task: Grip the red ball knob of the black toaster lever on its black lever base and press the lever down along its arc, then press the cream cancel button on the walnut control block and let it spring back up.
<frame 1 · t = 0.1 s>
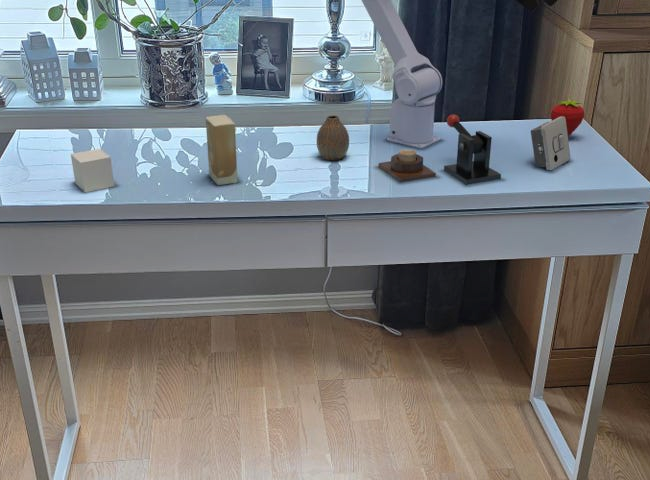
hand: (545, 5, 170), 32 cm above the table, tool tilted 50°, fingers open, 7 cm apart
toaster lever: (463, 132, 182), point 8 cm above the table, hinge at 15.0°
electrical switch: (548, 164, 189), on the table
cosmetic box: (223, 180, 181), on the table
black lever base: (471, 175, 183), on the table
cancel button: (407, 156, 183), point 3 cm above the table, slide at 0.1 cm
strawberry: (564, 138, 204), on the table
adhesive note: (94, 185, 179), on the table
control block: (406, 172, 184), on the table
vase: (332, 158, 192), on the table
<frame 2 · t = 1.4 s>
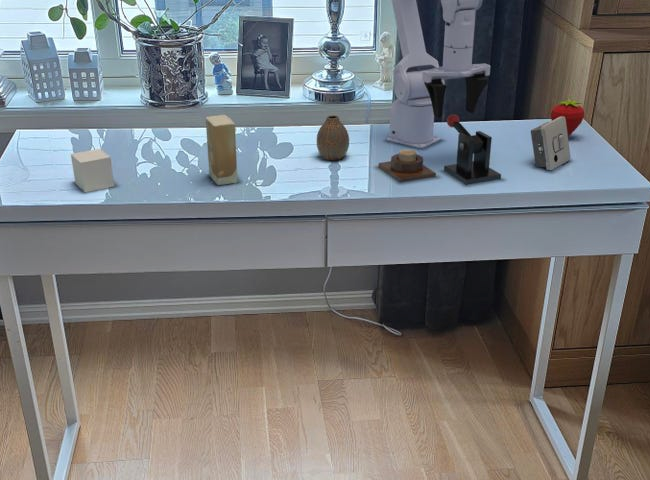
hand: (453, 114, 184), 10 cm above the table, tool pointing down, fingers open, 7 cm apart
nothing on the table moved.
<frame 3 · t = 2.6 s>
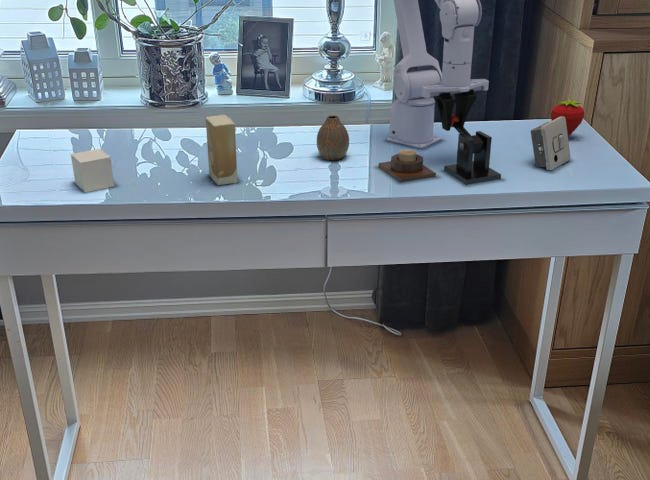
hand: (452, 128, 186), 7 cm above the table, tool pointing down, fingers closed on toaster lever, 2 cm apart
toaster lever: (463, 132, 182), point 8 cm above the table, hinge at 15.0°, touching gripper
everything else where it was.
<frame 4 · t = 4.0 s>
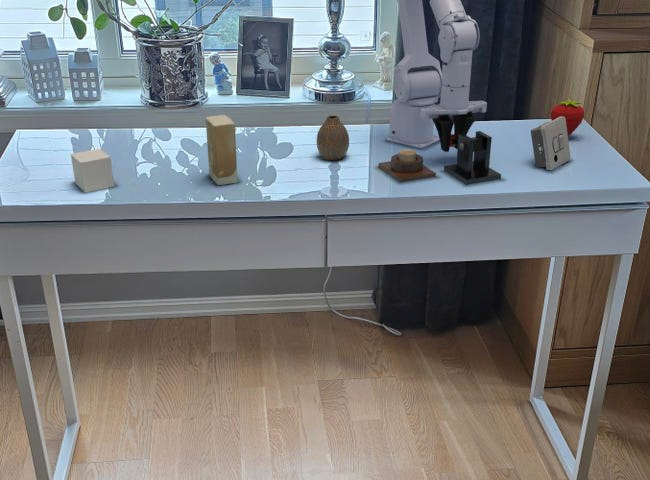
hand: (451, 149, 188), 3 cm above the table, tool pointing down, fingers closed on toaster lever, 2 cm apart
toaster lever: (462, 142, 183), point 6 cm above the table, hinge at -11.8°, touching gripper
everything else where it was.
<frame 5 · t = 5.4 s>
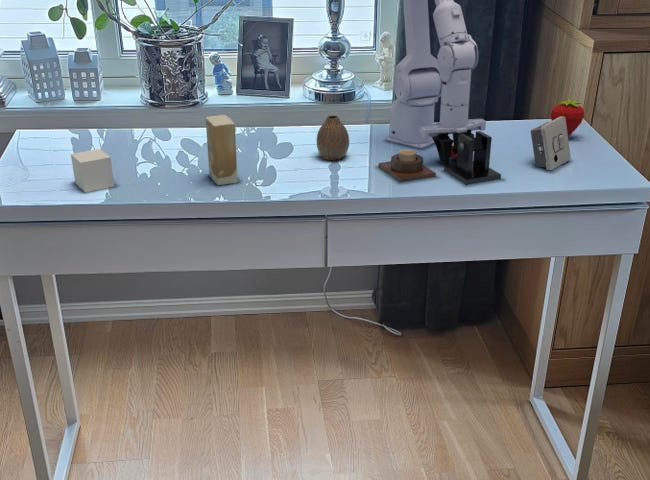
hand: (450, 167, 190), 0 cm above the table, tool pointing down, fingers closed on toaster lever, 2 cm apart
toaster lever: (463, 148, 184), point 4 cm above the table, hinge at -26.7°, touching gripper
everything else where it was.
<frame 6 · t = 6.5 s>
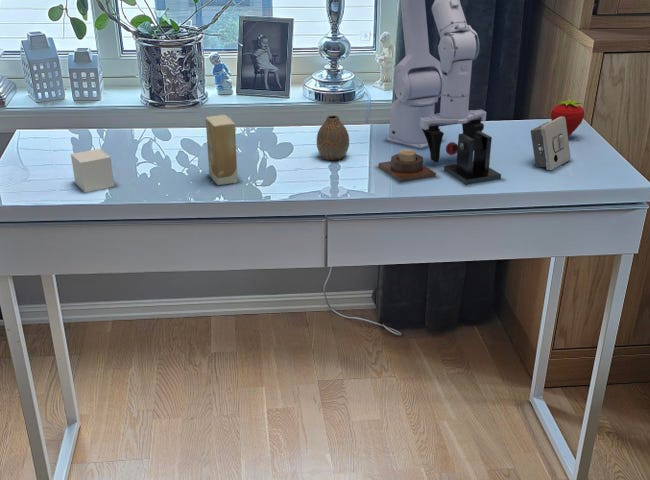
hand: (450, 158, 189), 1 cm above the table, tool pointing down, fingers open, 7 cm apart
toaster lever: (463, 146, 184), point 5 cm above the table, hinge at -22.3°
everything else where it was.
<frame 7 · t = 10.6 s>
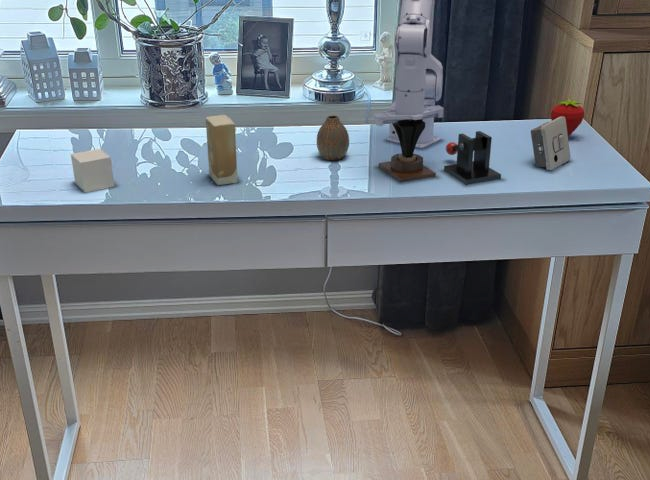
hand: (407, 156, 183), 3 cm above the table, tool pointing down, fingers closed, pressing on cancel button
cancel button: (407, 159, 183), point 3 cm above the table, slide at -0.7 cm, touching gripper
everything else where it was.
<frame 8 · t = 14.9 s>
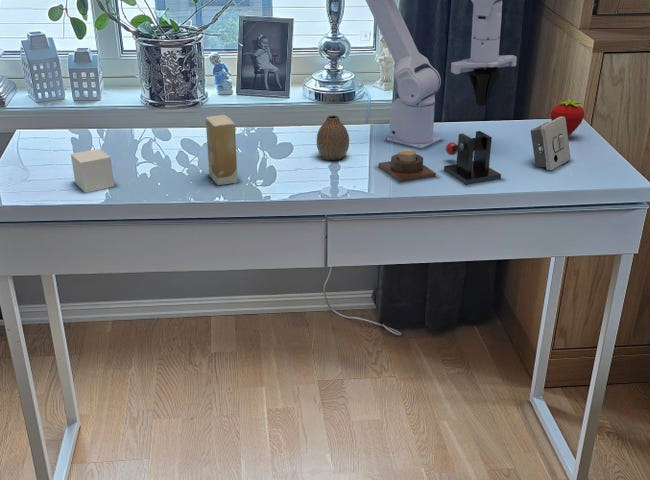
hand: (481, 104, 190), 10 cm above the table, tool pointing down, fingers closed
cancel button: (407, 156, 183), point 3 cm above the table, slide at 0.1 cm
everything else where it was.
at the end: toaster lever at -22° (first picture: +15°); cancel button pushed in 1.1 cm at the most during the clip, back to where it started at the end; cancel button slide at 0.1 cm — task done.
